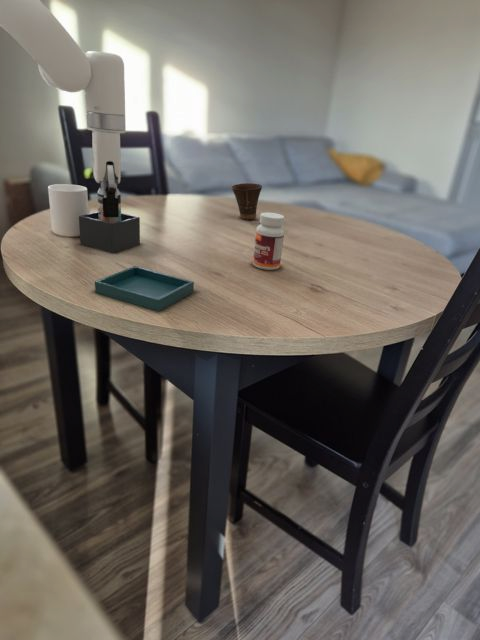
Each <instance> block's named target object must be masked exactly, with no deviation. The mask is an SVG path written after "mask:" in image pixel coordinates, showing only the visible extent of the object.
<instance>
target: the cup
mask: <svg viewBox="0 0 480 640" xmlns="http://www.w3.org/2000/svg"><path fill="white" fill-rule="evenodd" d="M262 189H263V185H261V184H258V183H248V182H247V183H244V182H243V183H238V184H234V185H232V186H231V190H232V192H233V194H234V197H235V200H236V204H237V206H238V210H239V216H240V219H241V220H244V221H245V220H255V219H256V218H257V209H258V202H259V198H260V196H261V195H260V194H261V192H262Z"/></svg>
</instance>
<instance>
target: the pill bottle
mask: <svg viewBox="0 0 480 640" xmlns="http://www.w3.org/2000/svg"><path fill="white" fill-rule="evenodd" d="M259 223H260V224H258V226H256V230H255V238H254V248H253V256H252V265H253V266H254V267H256V268H257V269H261V270H266V271H273V270H277V269H279V268H280V266H281V260H282V255H283V246H284V238H285V229H284V228H283V226H284V225H285V216H284V215H283V214H279V213H276V212H261V213H260V215H259Z"/></svg>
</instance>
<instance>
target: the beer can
mask: <svg viewBox="0 0 480 640" xmlns="http://www.w3.org/2000/svg"><path fill="white" fill-rule="evenodd" d="M96 194H97V195H96V196H97V212H98V216H99V220H101V221H105V222H110V223H116V222H119V221H121V213H122V199H121V198H122V197H121V196H122V195H121V192H120V190H119V188H118V187H117V196H118V205H119V217H104V216H103V201H102V197H104V194H103V187H101V186H100V187H98V190H97V193H96Z"/></svg>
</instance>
